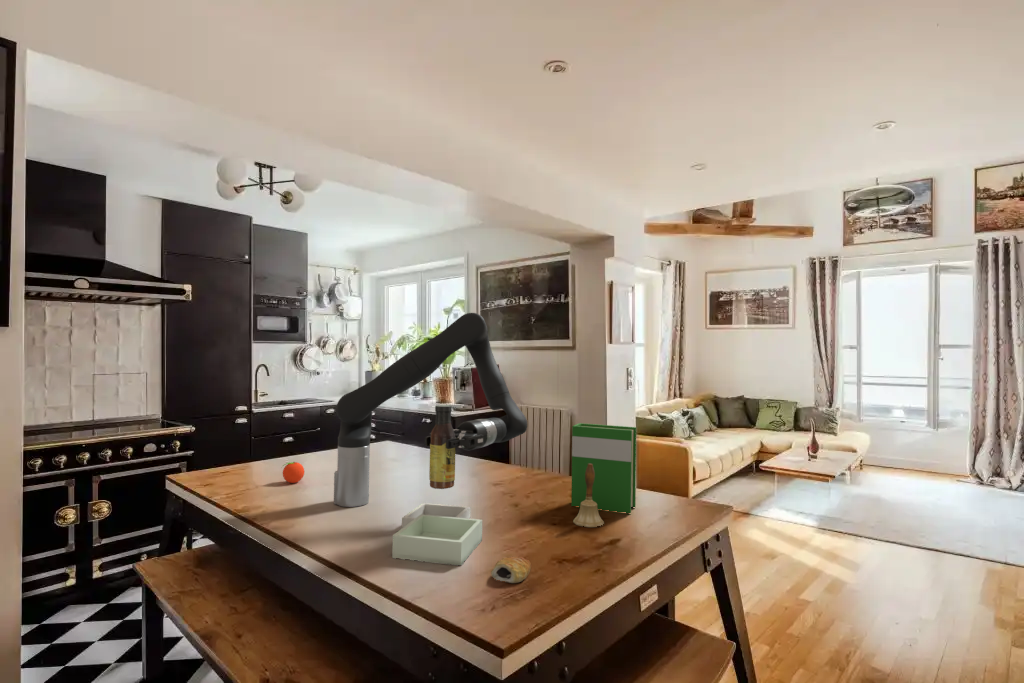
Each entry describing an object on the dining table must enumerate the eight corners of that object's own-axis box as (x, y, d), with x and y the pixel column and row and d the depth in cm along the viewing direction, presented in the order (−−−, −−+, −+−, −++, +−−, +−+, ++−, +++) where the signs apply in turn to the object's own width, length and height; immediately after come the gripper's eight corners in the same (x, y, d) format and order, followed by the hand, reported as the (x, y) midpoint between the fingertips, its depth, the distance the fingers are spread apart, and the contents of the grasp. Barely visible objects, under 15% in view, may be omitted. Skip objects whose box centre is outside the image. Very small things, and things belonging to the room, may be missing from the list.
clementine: (278, 486, 180) (279, 464, 180) (279, 481, 186) (279, 460, 186) (304, 484, 183) (304, 463, 183) (304, 479, 189) (304, 459, 189)
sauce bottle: (450, 490, 129) (451, 407, 129) (425, 489, 130) (426, 406, 130) (458, 484, 135) (459, 404, 135) (434, 482, 136) (435, 403, 136)
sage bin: (392, 558, 120) (392, 535, 120) (420, 534, 135) (420, 514, 135) (461, 565, 116) (461, 542, 116) (481, 540, 132) (482, 519, 132)
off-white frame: (401, 529, 139) (401, 517, 139) (422, 513, 152) (422, 502, 152) (453, 534, 135) (453, 522, 136) (470, 517, 149) (470, 506, 149)
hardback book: (635, 507, 161) (636, 427, 162) (630, 514, 155) (631, 430, 155) (578, 500, 169) (579, 423, 169) (571, 506, 162) (572, 426, 162)
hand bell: (585, 516, 153) (586, 459, 153) (610, 523, 147) (611, 464, 147) (566, 522, 147) (567, 463, 147) (591, 530, 141) (592, 468, 141)
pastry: (511, 564, 118) (511, 546, 118) (538, 571, 115) (539, 552, 115) (488, 580, 110) (489, 561, 110) (517, 587, 106) (518, 568, 107)
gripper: (455, 417, 149) (413, 425, 134) (499, 422, 141) (460, 430, 127) (455, 445, 149) (413, 455, 134) (499, 450, 141) (459, 462, 127)
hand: (436, 443), depth 131 cm, fingers closed on sauce bottle, 6 cm apart
